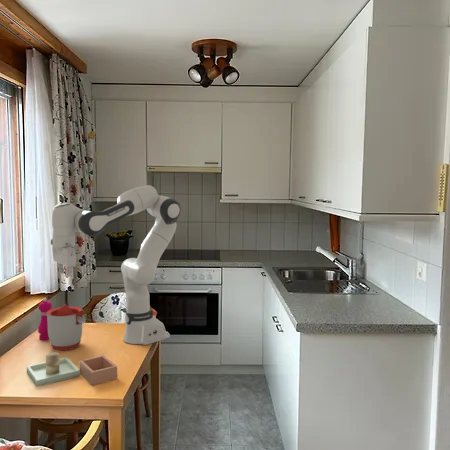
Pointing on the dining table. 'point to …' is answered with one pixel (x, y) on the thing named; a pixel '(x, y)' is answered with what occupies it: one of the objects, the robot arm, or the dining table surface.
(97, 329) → the dining table surface
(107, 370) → the open square frame
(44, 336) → the pepper mill
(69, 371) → the tray
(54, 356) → the beech cylinder
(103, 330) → the dining table surface
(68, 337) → the citrus juicer
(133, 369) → the dining table surface
